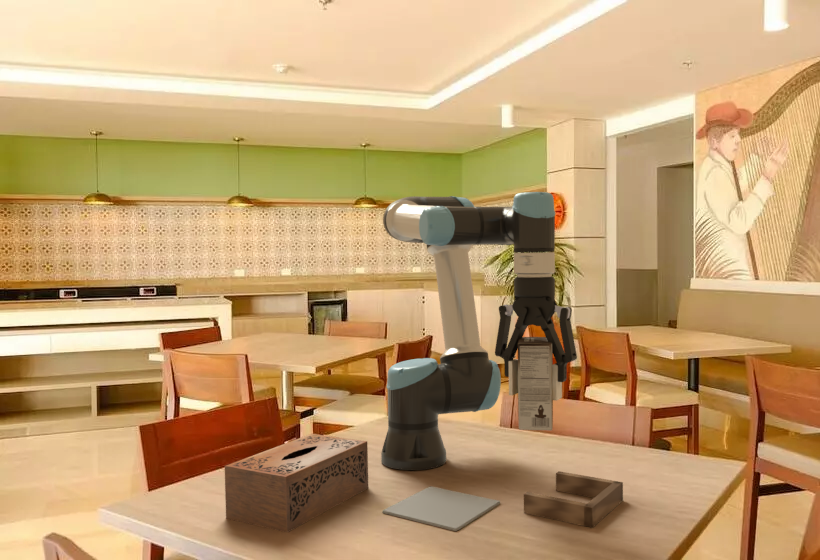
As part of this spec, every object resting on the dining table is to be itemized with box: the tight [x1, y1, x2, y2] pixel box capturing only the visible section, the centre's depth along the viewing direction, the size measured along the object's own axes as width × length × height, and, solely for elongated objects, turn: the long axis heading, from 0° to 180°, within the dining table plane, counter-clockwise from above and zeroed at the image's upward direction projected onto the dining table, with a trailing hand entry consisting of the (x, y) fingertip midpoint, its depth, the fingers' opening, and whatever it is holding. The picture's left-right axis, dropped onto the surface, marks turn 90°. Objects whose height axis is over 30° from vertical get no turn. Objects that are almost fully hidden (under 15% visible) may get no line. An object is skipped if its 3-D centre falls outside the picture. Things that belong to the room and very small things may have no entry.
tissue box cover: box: [224, 433, 369, 533], centre depth 134 cm, size 26×14×10 cm, turn 150°
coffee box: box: [517, 336, 554, 431], centre depth 129 cm, size 9×6×16 cm
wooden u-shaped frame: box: [523, 471, 624, 528], centre depth 129 cm, size 13×16×4 cm
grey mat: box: [382, 486, 501, 532], centre depth 129 cm, size 16×16×1 cm
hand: (535, 396), depth 129 cm, fingers closed on coffee box, 8 cm apart
